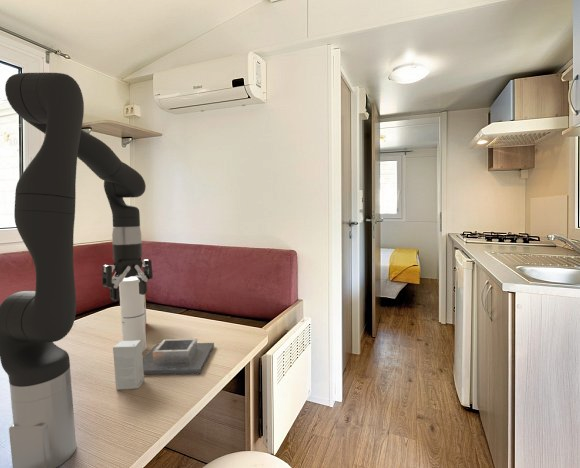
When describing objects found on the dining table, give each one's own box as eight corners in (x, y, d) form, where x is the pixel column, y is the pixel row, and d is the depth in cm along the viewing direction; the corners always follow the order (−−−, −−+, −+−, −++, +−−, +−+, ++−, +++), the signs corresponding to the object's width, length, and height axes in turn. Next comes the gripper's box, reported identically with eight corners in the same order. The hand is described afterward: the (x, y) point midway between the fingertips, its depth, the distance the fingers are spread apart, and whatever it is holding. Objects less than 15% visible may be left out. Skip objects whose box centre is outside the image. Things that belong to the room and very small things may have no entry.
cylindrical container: (137, 355, 105) (132, 281, 103) (118, 353, 107) (113, 280, 104) (150, 346, 112) (146, 276, 110) (132, 344, 114) (128, 276, 111)
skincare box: (144, 380, 90) (142, 339, 89) (138, 389, 86) (135, 346, 85) (122, 381, 90) (119, 340, 89) (115, 390, 85) (112, 347, 84)
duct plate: (200, 374, 93) (199, 357, 92) (131, 375, 93) (130, 359, 92) (214, 346, 111) (213, 333, 110) (156, 348, 111) (155, 334, 110)
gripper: (111, 244, 84) (113, 305, 85) (156, 240, 96) (158, 293, 97) (94, 243, 88) (97, 301, 89) (140, 240, 100) (142, 290, 101)
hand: (129, 297), depth 93 cm, fingers open, 8 cm apart
